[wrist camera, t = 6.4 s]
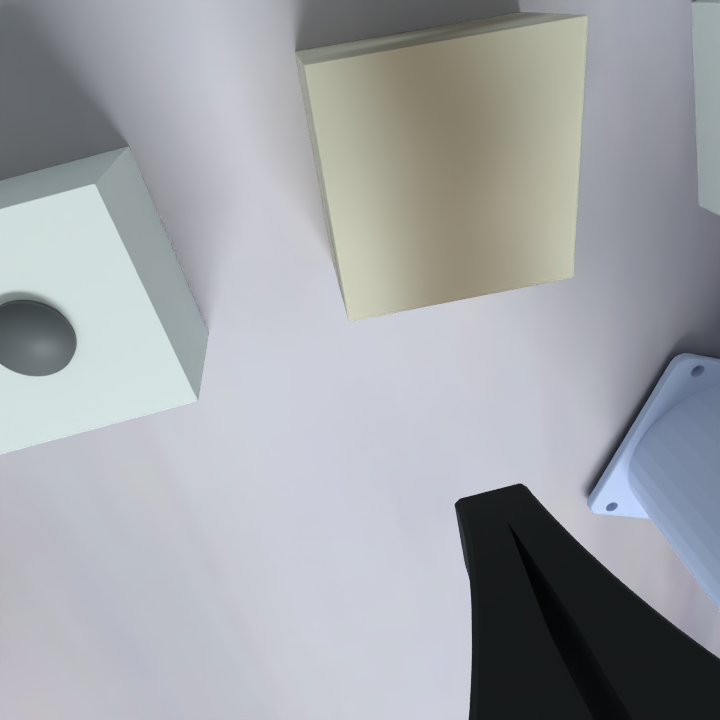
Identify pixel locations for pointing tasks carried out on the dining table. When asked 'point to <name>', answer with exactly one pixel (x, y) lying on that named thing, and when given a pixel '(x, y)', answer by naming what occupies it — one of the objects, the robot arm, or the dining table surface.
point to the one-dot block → (90, 304)
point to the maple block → (448, 158)
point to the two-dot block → (707, 100)
